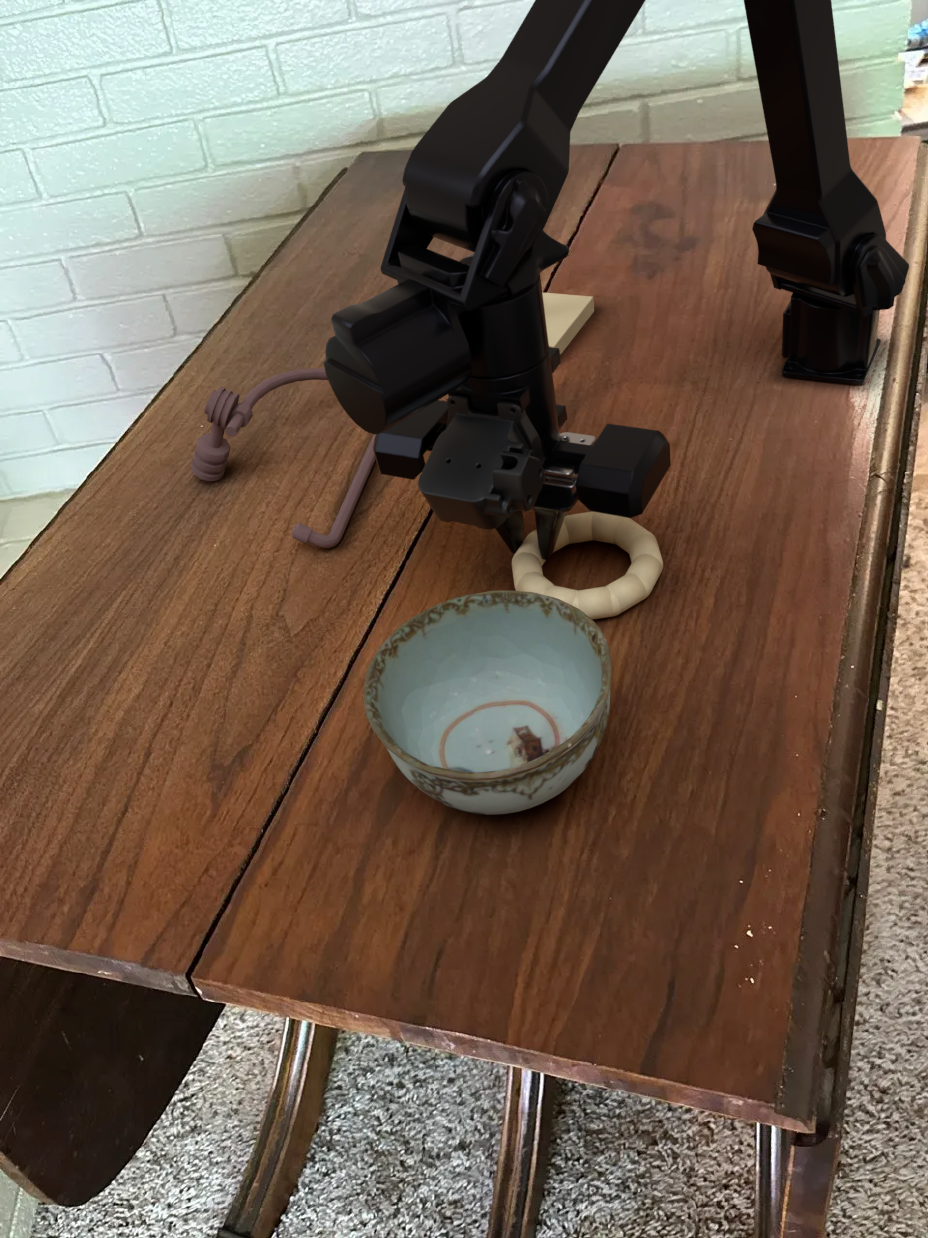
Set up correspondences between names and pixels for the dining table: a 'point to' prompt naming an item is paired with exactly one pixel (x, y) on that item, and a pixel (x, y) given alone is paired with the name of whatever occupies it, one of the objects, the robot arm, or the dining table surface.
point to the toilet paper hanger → (235, 416)
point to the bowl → (492, 699)
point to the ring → (602, 598)
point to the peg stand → (565, 317)
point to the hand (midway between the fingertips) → (532, 553)
